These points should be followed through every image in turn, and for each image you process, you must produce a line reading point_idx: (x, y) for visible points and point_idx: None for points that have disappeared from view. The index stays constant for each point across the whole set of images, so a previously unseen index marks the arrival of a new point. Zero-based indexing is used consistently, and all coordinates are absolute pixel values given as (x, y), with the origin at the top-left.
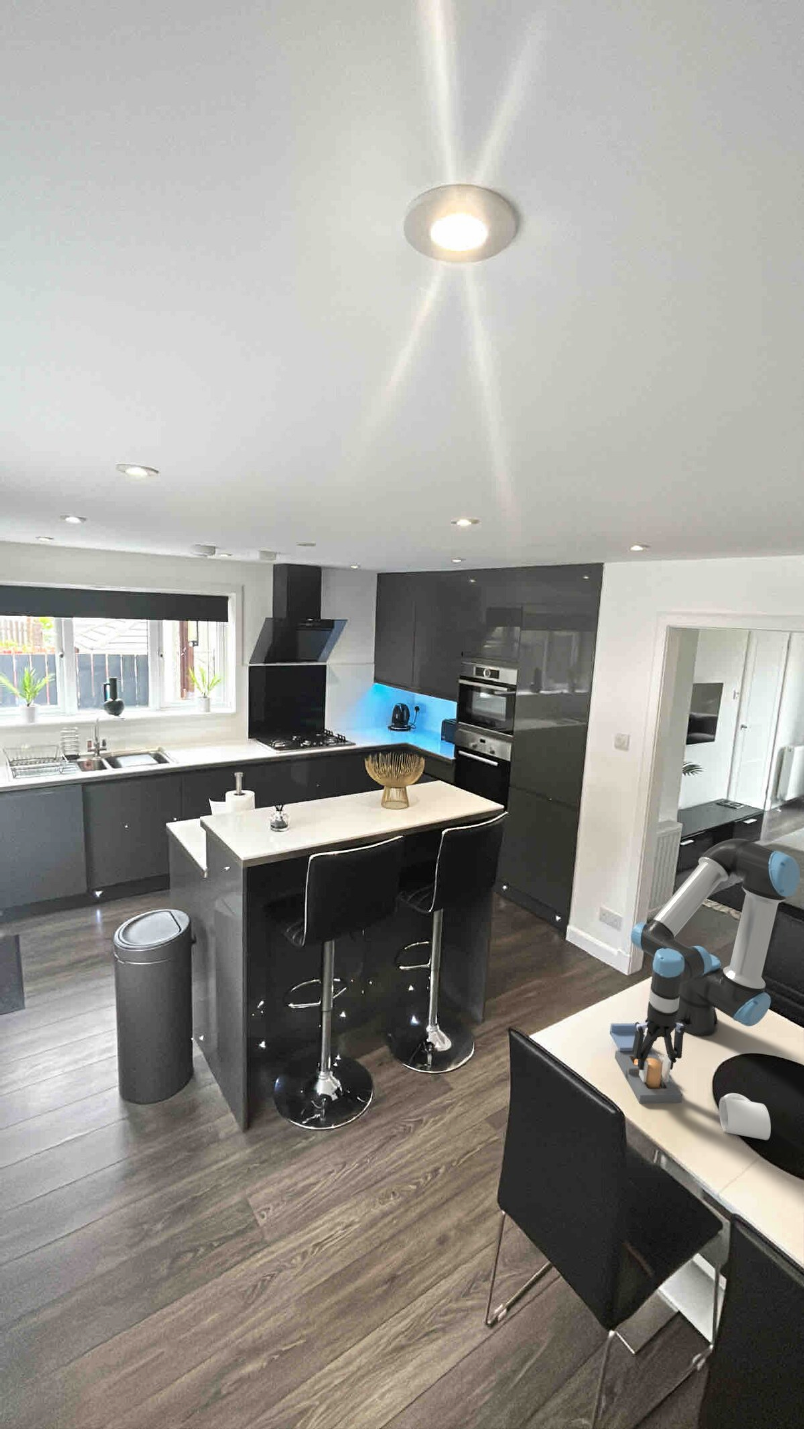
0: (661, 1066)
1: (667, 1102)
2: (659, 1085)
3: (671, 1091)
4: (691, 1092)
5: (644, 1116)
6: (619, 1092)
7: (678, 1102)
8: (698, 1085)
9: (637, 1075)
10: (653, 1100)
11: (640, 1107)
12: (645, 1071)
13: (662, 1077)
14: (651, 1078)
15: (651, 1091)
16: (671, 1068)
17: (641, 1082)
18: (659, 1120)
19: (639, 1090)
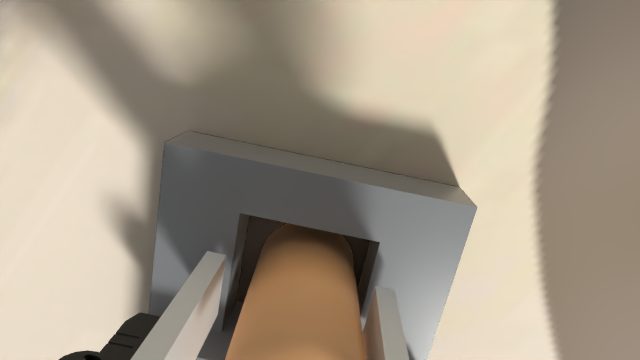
0: (238, 355)
1: (278, 150)
2: (279, 248)
3: (228, 184)
4: (79, 183)
5: (504, 88)
6: (520, 282)
7: (207, 135)
8: (7, 218)
9: None
10: (371, 174)
11: (476, 157)
12: (399, 348)
13: None
14: (342, 292)
15: (373, 217)
16: (140, 321)
17: None
18: (429, 35)
19: (452, 243)
